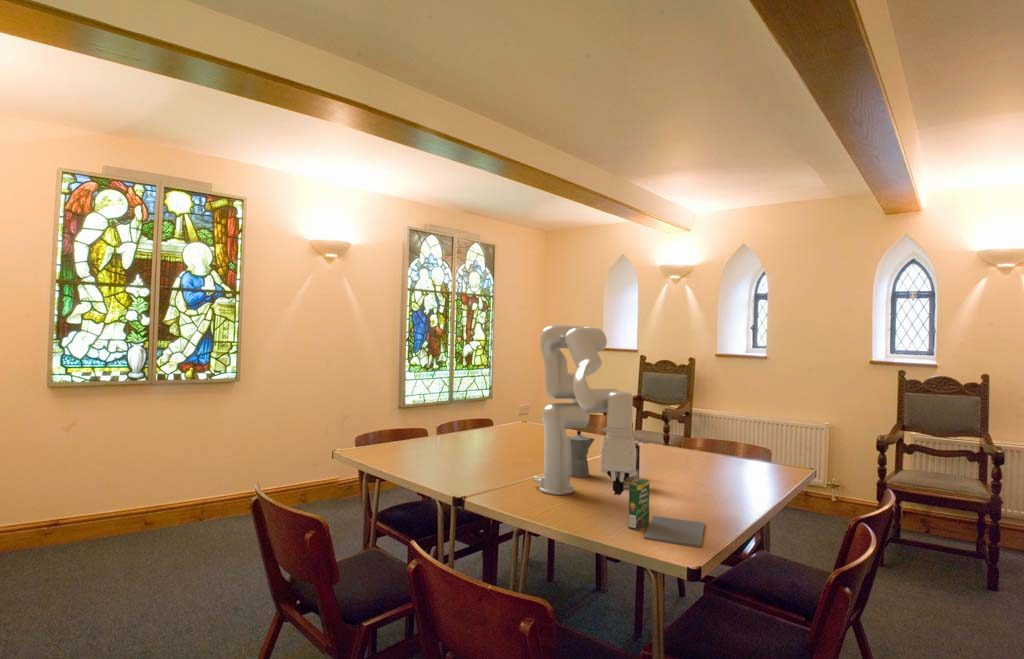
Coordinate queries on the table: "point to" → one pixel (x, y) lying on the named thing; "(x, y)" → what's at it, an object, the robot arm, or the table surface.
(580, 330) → the robot arm
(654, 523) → the mat
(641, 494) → the coffee box
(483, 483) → the table surface
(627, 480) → the coffee box
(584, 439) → the coffeepot
